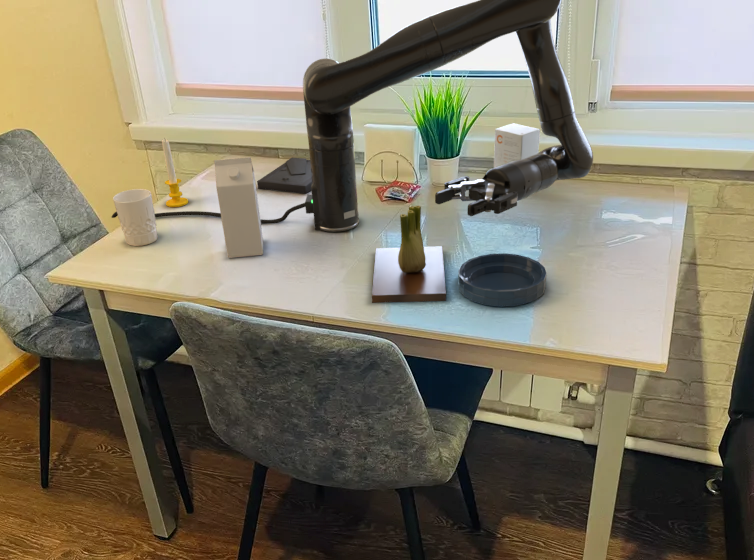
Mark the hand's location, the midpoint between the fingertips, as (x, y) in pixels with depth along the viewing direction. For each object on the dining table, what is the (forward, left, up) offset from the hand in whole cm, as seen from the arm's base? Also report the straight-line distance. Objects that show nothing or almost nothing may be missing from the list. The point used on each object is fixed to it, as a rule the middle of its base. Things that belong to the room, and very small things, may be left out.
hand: (452, 204), depth 144 cm
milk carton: (-42, +8, -11) cm, 44 cm away
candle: (-63, +36, -11) cm, 74 cm away
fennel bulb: (-8, -7, -10) cm, 14 cm away
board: (-8, -7, -11) cm, 15 cm away
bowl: (+8, -12, -11) cm, 18 cm away
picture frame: (-36, +50, -11) cm, 63 cm away
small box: (+16, +40, -11) cm, 45 cm away
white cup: (-66, +15, -11) cm, 68 cm away
